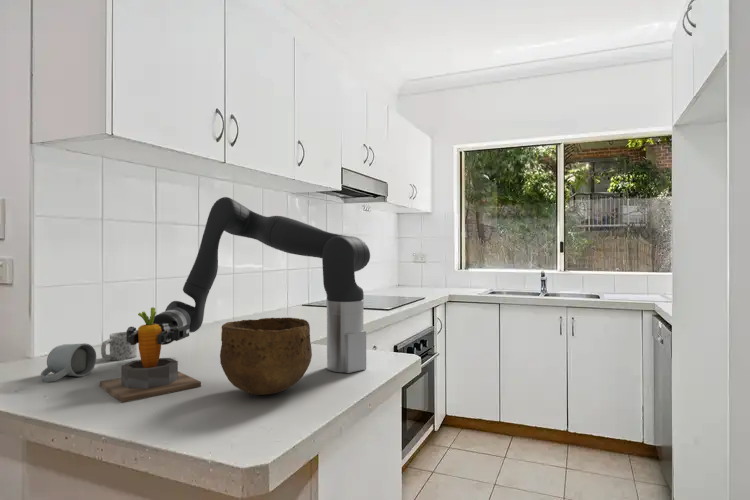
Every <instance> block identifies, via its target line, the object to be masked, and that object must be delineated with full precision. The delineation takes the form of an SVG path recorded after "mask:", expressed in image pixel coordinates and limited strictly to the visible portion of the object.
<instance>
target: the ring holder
mask: <svg viewBox="0 0 750 500" xmlns="http://www.w3.org/2000/svg"><path fill="white" fill-rule="evenodd" d="M178 365H179V361H178V360H175V359H174V358H171V357H166V358H165V357H159V361H158V364H157V367H152V368H144V367H143V364H142V362H141V359H138V360H137V359H136V360H131V361H129V362H127V363H125V364H122V365H121V367H120V370H121V371H120V372H121V373H120V374H121V375H120V376H121V377H118V378H111V379H106V380H100V381H99V387H101V389H102V390H105V391H106V392H107V393H109V394H110V395H111V396H113V397H114V398H115V399H116V400H118V401H119V402H121V403H127V402H132V401H136V400H142V399H146V398H152V397H156V396H160V395H166V394H169V393H175V392H180V391H186V390H190V389H195V388H199V387H202V381H200V380H197V379H196V378H194V377H191V376H189V375H187V374H185V373H183V372H181V371H179V368H178V367H179V366H178Z"/></svg>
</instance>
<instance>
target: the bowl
mask: <svg viewBox="0 0 750 500" xmlns="http://www.w3.org/2000/svg"><path fill="white" fill-rule="evenodd" d="M310 333H311V326H310V323H309V322H308V320H306V319H304V318H297V317H264V318H263V317H262V318H259V319H241V320H235V321H227V322H226V323H223V324H222V326H221V333H220V335H221V337H220V338H221V340H220V341H221V346H220V354H219V363H220V365H221V368H222V371H223V373H224V375H225V376H226V378H227V380H228V381H229V382H230V383H231V384H232V386H233V387H236V388H237V389H239V390H241V391H243V392H245V393H247V394H250V395H255V396H265V395H272V394H278V393H281V392H283V391H285V390H287V389H290V388H291V387H292V386H294V385H295V384H297V383H298V382H299V381H300V380H301V379H302V378H303V377H304V374H306V372H307V370H308V368H309V366H310V364H311V361H312V356H313V352H312V351H313V350H312V344H311V334H310Z"/></svg>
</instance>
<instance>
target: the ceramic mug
mask: <svg viewBox="0 0 750 500" xmlns="http://www.w3.org/2000/svg"><path fill="white" fill-rule="evenodd" d="M96 363H97V352H96V349H95V348H94V346H93V345H91V344H89V343H84V342H83V343H71V344H70V343H67V344H61V345H57V346H55V347H53V348H52V349H51V350H50V352H49V353H48V355H47V359H46V368H44V369H43V370H42V371H41V373H40V377H41V379H42V381H43V382H45V383H51V382H55V381H58V380H60V379H63V378H64V377H65V376H68V377H76V378H77V377H78V378H79V377H80V378H82V377H86V376H87V375H88V374H90V373H91V372H92V371H93V370H94V368H95V366H96ZM50 373H52V374H51V375H49V374H50Z"/></svg>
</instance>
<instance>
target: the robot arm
mask: <svg viewBox="0 0 750 500" xmlns="http://www.w3.org/2000/svg"><path fill="white" fill-rule="evenodd" d="M224 232H226V233H228V234H230V235H233V236H236V237H237V236H238V237H243V238H248V239H253V240H256V241H258V242H260V243H262V244H264V245H265V246H268V247H270V248H272V249H275V250H278V251H281V252H284V253H287V254H292V255H296V256H302V257H309V258H310V257H312V258H319V259H321V260H322V263H321V264H322V281H323V288H324V291H325V294H326V369H327V370H328V371H330V372H334V373H346V374H350V373H355V372H359V371H364V370H367V331H366V330H364V290H363V288H362V287H361V286H359V285H358V284H357V282H356V277H355V273H356V272H358V271H361V270H363V269H364V268H365V267H366V266H367V265H368V263H369V262H370V259H371V253H370V249H369V247H368V245H367V244H366V242H365V241H363V239H361V238H359V237H356V236H352V235H351V236H350V235H343V234H338V233H333V232H328V231H326V230H323V229H321V228H318V227H315V226H313V225H311V224H308V223H305V222H302V221H299V220H296V219H293V218H290V217H286V216H281V215H271V216H266V215H262V214H259V213H257V212H254V211H253V210H251V209H249V208H248V207H246V206H244V205H243V204H241V203H240V202H238V201H236V200H234V199H233V198H232V197H227V196H224V197H220V198H219V199H217V200H216V201H215V202H214V203H213V205H212V207H211V209H210V211H209V212H208V216H207V220H206V224H205V227H204V230H203V235H202V237H201V242H200V245H199V249H198V251H197V252H198V253H197V254H196V255H197V256H196V258H195V261H194V262H193V265H192V268H191V269H190V271H189V274H188V275H187V278H186V280H185V283H184V285H183V287H182V292H183V293H184V294H185V295H186V296H188V297H190V298H191V299H192V300H193V301H194V303H195V304H194V306H193V305H191V304H188V303H185V302H183V301H181V300H173V301H171V302H170V303H169V304H168V305H167V306H166V308H165V310H164V311H162V312H160V313H158V314H155V317H154V321H153V324H158V325H159V326H160V327H161V330H162V332H161V333H159V334H158V344H161V346H163V345H169V344H172V343H173V342H178V341H181V340H183V339H185V338H189V336H190V333H194V332H195V333H196V332H197V331H198V330H200V328H201V327H202V324H203V321H204V315H205V309H206V308H205V307H206V303H207V300H208V296H209V293H210V291H211V289H212V286H213V284H214V282H215V280H216V278H217V274H218V271H219V246H220V241H221V238H222V236H223V234H224ZM125 332H126V339H127V342H129V343H131V345H135V344H138V329H137V328H136V327H135V326H128V327H127V329H126V331H125Z"/></svg>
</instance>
